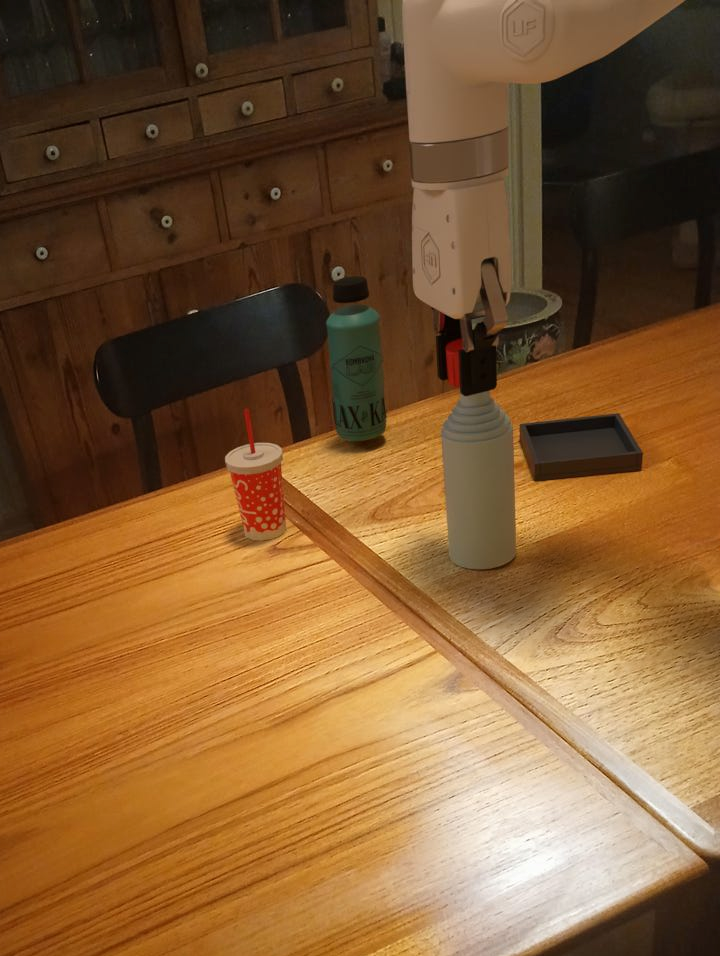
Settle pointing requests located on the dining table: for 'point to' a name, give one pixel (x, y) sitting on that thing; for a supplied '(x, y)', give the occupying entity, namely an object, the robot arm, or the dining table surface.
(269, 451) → the beverage cup
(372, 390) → the beverage bottle
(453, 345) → the cap
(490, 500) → the water bottle
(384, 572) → the dining table surface
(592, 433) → the dish
